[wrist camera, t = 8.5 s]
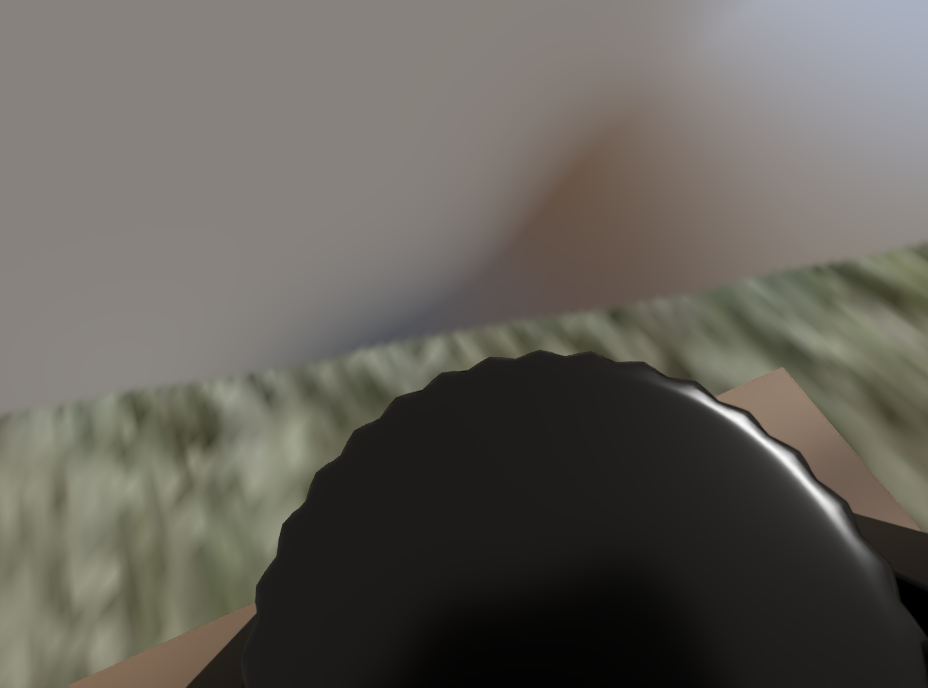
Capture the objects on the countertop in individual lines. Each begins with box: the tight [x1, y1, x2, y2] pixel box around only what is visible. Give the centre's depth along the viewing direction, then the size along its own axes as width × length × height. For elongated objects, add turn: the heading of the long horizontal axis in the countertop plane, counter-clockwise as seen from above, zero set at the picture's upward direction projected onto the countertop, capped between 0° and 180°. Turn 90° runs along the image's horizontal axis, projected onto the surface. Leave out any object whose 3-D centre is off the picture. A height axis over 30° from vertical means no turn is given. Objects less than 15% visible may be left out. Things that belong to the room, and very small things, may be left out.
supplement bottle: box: [240, 350, 928, 688], centre depth 9 cm, size 7×7×12 cm
